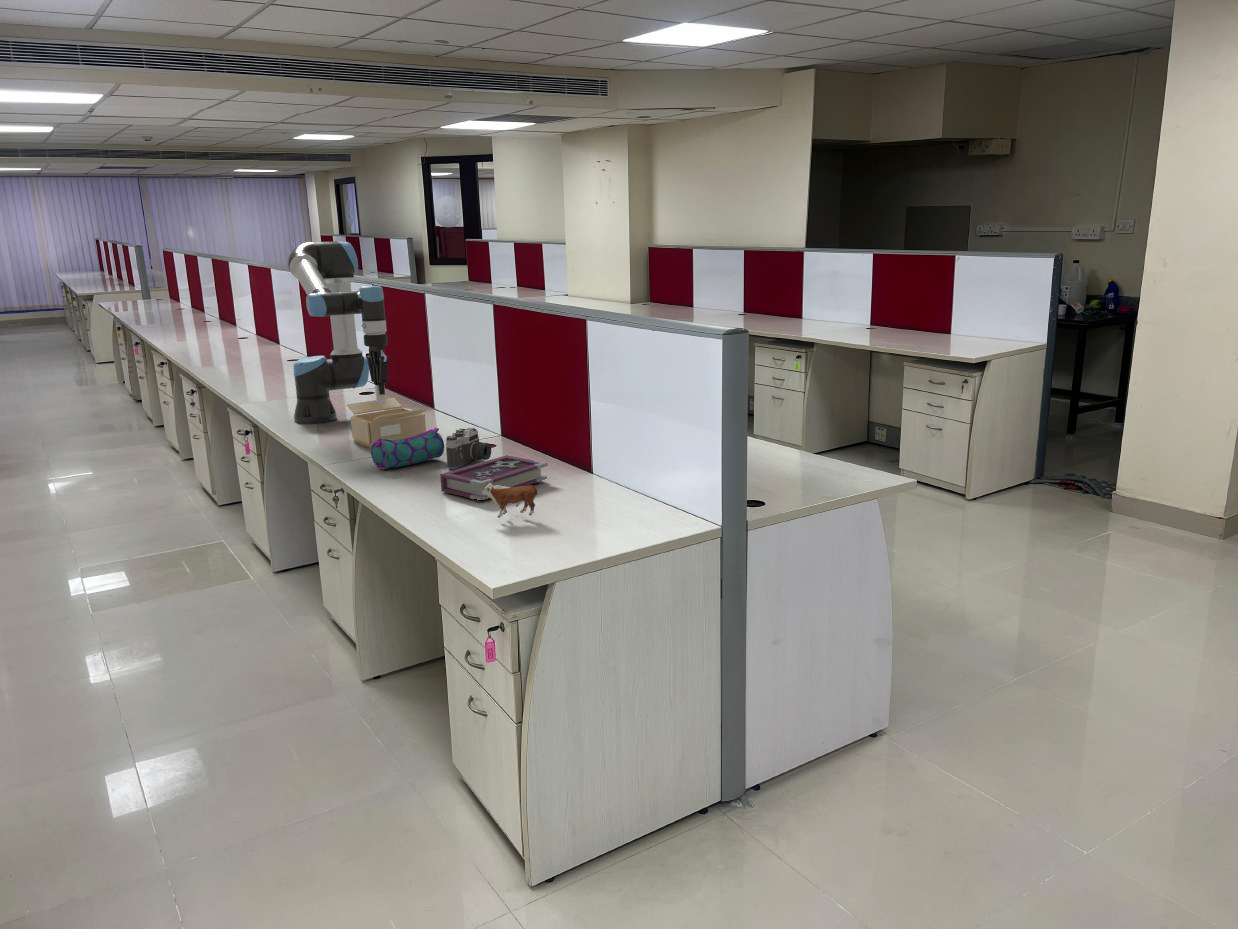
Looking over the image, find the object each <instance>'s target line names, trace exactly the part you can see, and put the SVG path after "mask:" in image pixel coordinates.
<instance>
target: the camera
mask: <svg viewBox="0 0 1238 929" xmlns="http://www.w3.org/2000/svg"><path fill="white" fill-rule="evenodd" d="M445 446H446V447H445V451H446V454H445V455H446V467H447V468H448V469H453V470H456V469H459V468H460V467H462V466H464V465H466V464H467V463H470V462H472V461H474V460H476V461H477V460H478V461H479V460H480V461H481V460H484V461H488V460H490V458H491V456H492V445H491V443H488V442H482V441H480V437H479V429H477V428H475V427H473V426H472V427H471V426H470V427H468V428H460V427H459V429H455V432H452V435H448V436H446V439H445Z"/></svg>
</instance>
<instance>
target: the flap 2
mask: <svg viewBox="0 0 1238 929" xmlns="http://www.w3.org/2000/svg"><path fill="white" fill-rule="evenodd" d="M429 409H430V408H429V407H426V408H418V409H411V411H405V412H398V413H392V414H385V415H379V416H378V417H376V418H374V419H373V421H376V420H383V419H389V418H395V417H402V416H408V415H414V414H421V413H424V412H427V411H429Z"/></svg>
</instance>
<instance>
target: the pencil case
mask: <svg viewBox="0 0 1238 929" xmlns="http://www.w3.org/2000/svg"><path fill="white" fill-rule="evenodd" d="M439 430H440V429H439V427H434V428H433V429H432V428H431V429H429V430H426V432H423V433H421V434H419V435H416V436H412V437H409V438H404V439H399V440H391V439H385V438H384V437H382V438H380V439H378V440H377V441H376V442H374V443H373V445H372V447H371V449H370V455H371V459H372V461H373V463H374V465H375V466H376V468H378V469H379V470H382V471H383V470H387V469H395V468H399V467H401V468H402V467H407V466H412V465H415V464H420V463H423V462H426V461H430V460H433V459H436V458H440V457H442V455H443V454H444V452H445V443H444V439H443V437H442V435H441V434H440V433H439Z"/></svg>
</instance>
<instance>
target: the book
mask: <svg viewBox="0 0 1238 929" xmlns="http://www.w3.org/2000/svg"><path fill="white" fill-rule="evenodd" d="M548 463H549V462H547V461H540V460H534V459H529V458H522V457H517V456H512V455H508V454H506V455H503V456H499V457H496V458H491V459H488V460H484V461H481V462H478V463H474V464H472V465H467V466H463V467H461V468H460V467H459V468H455V469H453V470H449V471H446V472H443V473H440V476H439V477H440V478H439V479H440V487H441V488H440V490H441V492H443V493H446V494H447V493H448V494H451V495H454V496H455V495H456V496H459V495H460V496H461V497H463V496H464V497H463V498H467V497H468V498H469V499H471V500H474V499H477V500H476V501H478V500H484V499H487V500H489V499H488V498H490V497H488V496H487V495H483V494H482V492H483V491H484V489H485V487H486V486H487V485H488V484H489V483H491V484H492V485H494V484H496V485H499V486H503V487H521V486H530V484H531V485H533V483H534V484H538V483H541V482H543V481H542V480H544V481H546V480H545V479H547V480H548V476H547V475H542V471H541V470H542V468H545V467H548V465H549V464H548ZM540 481H541V482H540ZM537 482H538V483H537ZM468 498H467V499H468ZM490 499H491V498H490ZM484 501H485V500H484Z"/></svg>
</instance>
